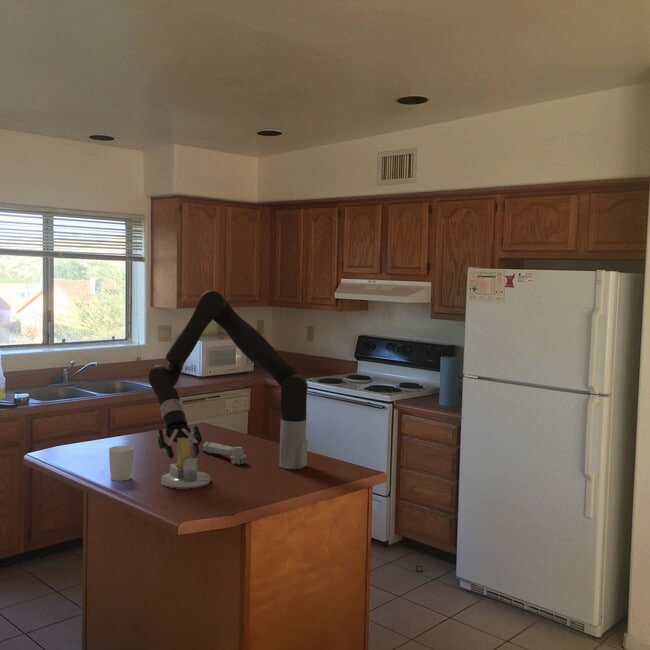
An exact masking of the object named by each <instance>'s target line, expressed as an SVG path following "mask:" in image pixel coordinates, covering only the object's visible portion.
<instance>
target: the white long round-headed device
mask: <svg viewBox="0 0 650 650" xmlns="http://www.w3.org/2000/svg"><path fill="white" fill-rule="evenodd" d="M201 450H202V451H203V452H204V451H205V453H208V454H217V455H218V454H219V455H224V456H225V455H227V456H230V457H229V458H230V459H231V460H230V461H231V462H230V463H231V465H236V464H237V465H243V464H246V458H247V455H246V454H245V453H244V448H243V447H242V446H235V447H234V446H230V445H225V444H222V443H221V444H219V443H216V442H214V441H205V442H203V443H202V445H201Z"/></svg>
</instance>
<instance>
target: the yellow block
mask: <svg viewBox="0 0 650 650" xmlns="http://www.w3.org/2000/svg"><path fill="white" fill-rule="evenodd" d="M187 438H188V437H187ZM187 438H185V437H184V438H177V442H176V464H177V468H179V469H183V462H184V458H185V457H191V445H190V440H188V439H189V438H188V439H187Z"/></svg>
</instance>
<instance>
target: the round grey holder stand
mask: <svg viewBox="0 0 650 650" xmlns="http://www.w3.org/2000/svg"><path fill="white" fill-rule="evenodd" d="M211 481H212V477H211V474H209V473H207V472H204V471H198V456H190V457H185V458H184V462H183V469H179V468H177V463H171V464H169V472H168V473H165V474H163V475H162V476H161V477H160V484H161V486H163V487H165V488H168V487H169V489H173V488H176V489H175V490H190V489H189V488H195V489H199V488H198V487H201V488H204V487H206V485H207V486H208V484H209V483H210V482H211ZM210 484H211V483H210ZM210 484H209V485H210ZM203 486H204V487H203Z"/></svg>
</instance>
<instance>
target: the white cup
mask: <svg viewBox="0 0 650 650" xmlns="http://www.w3.org/2000/svg"><path fill="white" fill-rule="evenodd" d="M108 454H109V456H108V459H109V472H110V475H109V476H110V480H111V479H112V480H111V481H114V480H115V482H124V480H125V481H130V480H131V479H132V478H133V477H132V476H133V468H134V455H135V447H133V446H130V445H115V446H111V447H109V449H108Z"/></svg>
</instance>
